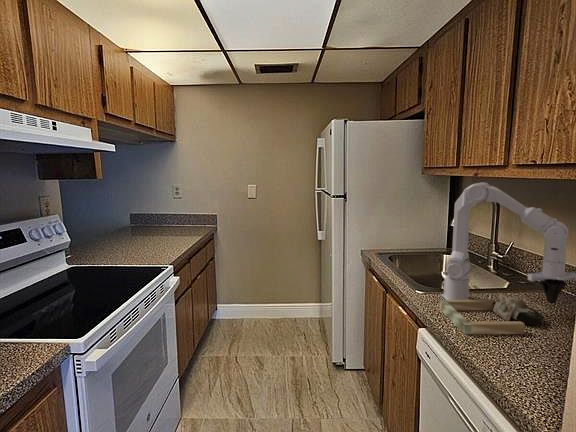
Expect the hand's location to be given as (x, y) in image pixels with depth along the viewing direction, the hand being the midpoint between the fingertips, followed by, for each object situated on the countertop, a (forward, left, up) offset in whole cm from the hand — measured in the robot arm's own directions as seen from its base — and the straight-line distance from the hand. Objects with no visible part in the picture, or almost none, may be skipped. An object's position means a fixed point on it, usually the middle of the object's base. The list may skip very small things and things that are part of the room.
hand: (551, 302), depth 116 cm
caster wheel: (0, -10, -6) cm, 11 cm away
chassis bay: (0, -23, -6) cm, 24 cm away
